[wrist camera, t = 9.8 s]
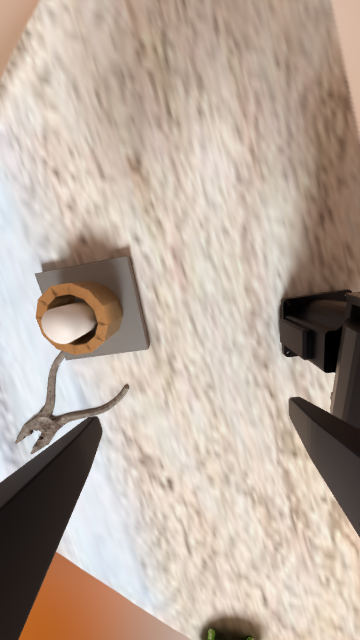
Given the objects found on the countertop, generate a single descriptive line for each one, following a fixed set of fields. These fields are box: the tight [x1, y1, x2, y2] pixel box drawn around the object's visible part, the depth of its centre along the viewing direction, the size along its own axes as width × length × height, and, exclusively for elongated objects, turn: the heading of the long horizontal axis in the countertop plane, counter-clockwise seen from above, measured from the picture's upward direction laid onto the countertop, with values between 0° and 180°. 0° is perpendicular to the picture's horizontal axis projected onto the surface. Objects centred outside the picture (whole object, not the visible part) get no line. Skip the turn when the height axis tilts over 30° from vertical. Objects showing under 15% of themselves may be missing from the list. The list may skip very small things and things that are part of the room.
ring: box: [36, 281, 123, 355], centre depth 17 cm, size 6×6×4 cm
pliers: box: [15, 351, 129, 454], centre depth 24 cm, size 10×1×20 cm
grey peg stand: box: [35, 256, 150, 360], centre depth 17 cm, size 10×10×6 cm
